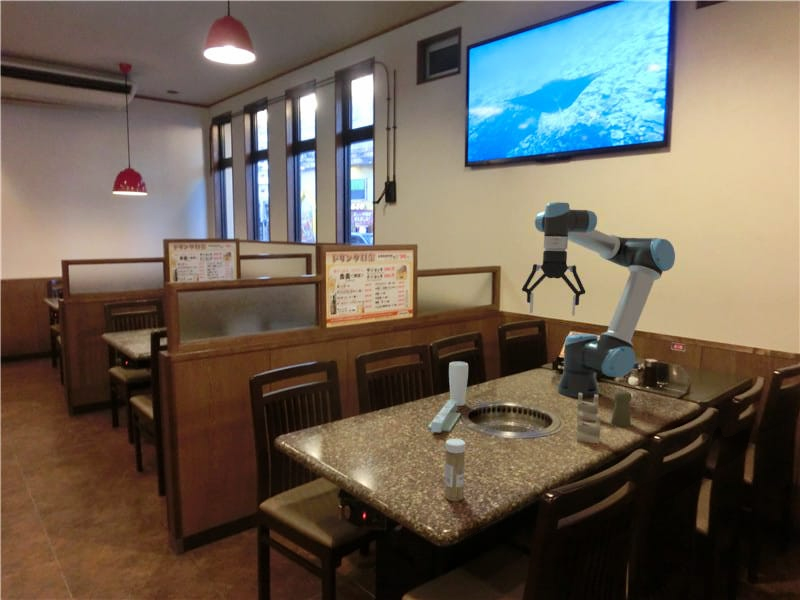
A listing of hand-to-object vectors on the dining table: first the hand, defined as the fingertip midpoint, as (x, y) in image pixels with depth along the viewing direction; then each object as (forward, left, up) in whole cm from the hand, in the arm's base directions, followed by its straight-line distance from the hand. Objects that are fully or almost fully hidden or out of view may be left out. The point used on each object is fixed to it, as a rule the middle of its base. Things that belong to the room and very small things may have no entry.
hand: (552, 313), depth 178 cm
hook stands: (+10, +13, -35) cm, 38 cm away
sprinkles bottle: (+68, -17, -35) cm, 78 cm away
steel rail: (+20, -31, -34) cm, 50 cm away
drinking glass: (+1, -31, -35) cm, 47 cm away
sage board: (+20, -31, -35) cm, 51 cm away
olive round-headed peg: (+2, +23, -35) cm, 42 cm away
